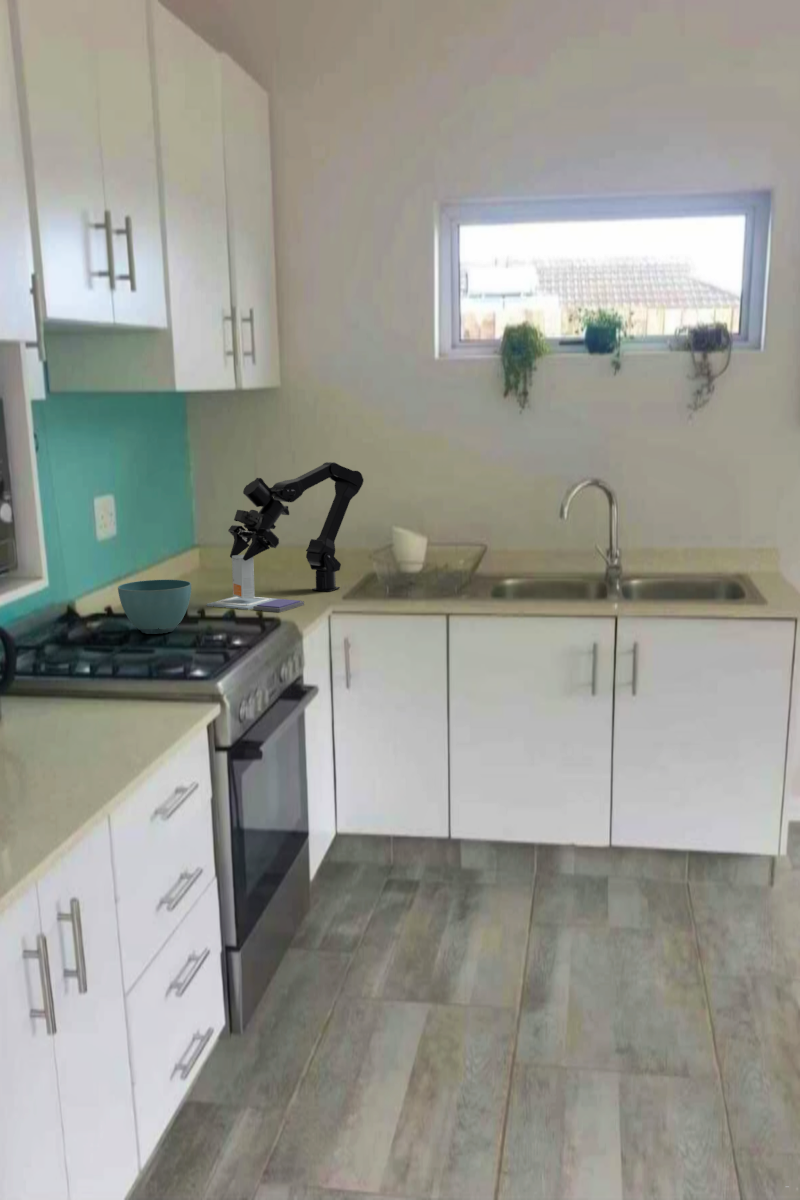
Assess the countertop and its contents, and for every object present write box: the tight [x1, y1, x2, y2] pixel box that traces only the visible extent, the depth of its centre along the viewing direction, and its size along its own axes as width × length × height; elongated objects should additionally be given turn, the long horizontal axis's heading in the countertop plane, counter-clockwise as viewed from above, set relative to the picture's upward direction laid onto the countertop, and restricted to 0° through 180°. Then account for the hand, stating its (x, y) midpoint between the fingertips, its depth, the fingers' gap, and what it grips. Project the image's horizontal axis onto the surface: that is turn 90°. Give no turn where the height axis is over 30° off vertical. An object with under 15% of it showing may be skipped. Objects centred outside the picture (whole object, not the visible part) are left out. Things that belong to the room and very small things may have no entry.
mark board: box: [206, 596, 278, 611], centre depth 303 cm, size 15×15×1 cm
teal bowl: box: [117, 579, 192, 629], centre depth 265 cm, size 18×18×12 cm
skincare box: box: [231, 554, 255, 598], centre depth 302 cm, size 6×4×12 cm
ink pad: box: [253, 598, 305, 613], centre depth 296 cm, size 12×9×1 cm
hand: (237, 558), depth 300 cm, fingers open, 6 cm apart
